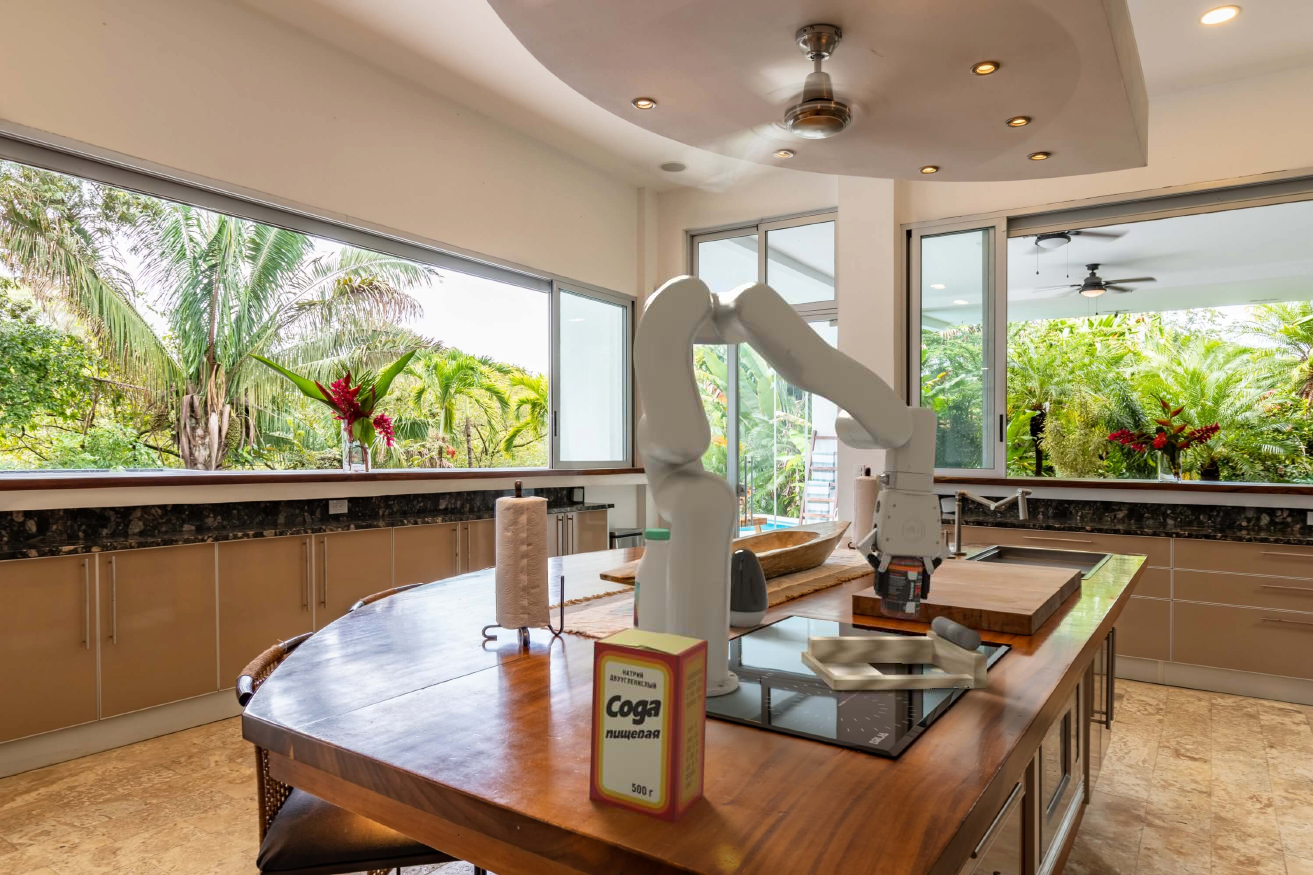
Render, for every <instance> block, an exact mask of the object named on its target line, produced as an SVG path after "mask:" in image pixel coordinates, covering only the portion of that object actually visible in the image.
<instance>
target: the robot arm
mask: <svg viewBox="0 0 1313 875" xmlns="http://www.w3.org/2000/svg"><path fill="white" fill-rule="evenodd" d="M641 313H642V315H641V317H640V319H639V322H638V326H637V328H636V332H635V336H634V342H633V349H632V350H633V352H632V353H633V354H632V355H633V359H632V360H633V366H634V367H633V368H634V373H635V377H636V381H637V386H638V388H639V389H638V390H639V394H640V399H641V402H642V405H643V410H644V413H643V414H642V415H641V417H640V419H639V422H638V424H637V427H636V428H637V429H636V440H637V447H638V451H639V454H640V459H641V462H642V465H643V468H644V473H645V476H646V479H647V483H648V487H649V489H650V493H651V496H652V498H653V502H654V505H655V508H656V510H657V511H658V513H659V515H660V516H661V518H662V519H663V520H664V521H666V522H667V523H668V524H670V525H671V528H670V540H669V546H668V555H667V587H666V621H665V633H667V634H672V635H678V636H683V637H689V638H694V639H700V640H705V641H708V654H707V689H706V697H716V696H721V695H727V694H729V693H732V692H734V691H735V690H737V689H738V687H739V677H738V675H737V674H736V673H735V672H733V671H732V670H729V651H730V626H731V625H730V590H731V556H732V554H733V543H734V536H735V531H736V526H737V519H738V501H737V500H738V499H737V495H736V493H735V491H734V489H733V487H732V486H731V484H730V483H729V482H728V481H727V480H726V479H725V478H724V477H722V476H721V475H720V474H719V473H716V472H713V471H711V470H705V468H704V463H703V460H702V457H703V456H704V455H705V454H706V453H707V452H708V450H709V448H710V445H711V442H712V433H711V432H712V431H711V426H710V423H709V419H708V415H707V413H706V409H705V407H704V403H703V399H702V396H701V392H700V389H699V386H698V382H697V378H696V374H695V369H694V364H693V348H694V345H702V346H703V345H704V346H705V345H707V346H716V345H718V346H721V345H727V346H728V345H740V344H744V343H746V344H748V346H749V347H750V348H752V350H754V351H755V352H756V353H757V354H758V356H760V357H761V359H763V360H764V361H765V362H766V363H767V364H768V365H769V366H770V368H772V369H773V370H774V371H775V373H776V374H778V375H779V376H780V378H782V379H783V381H785V382H786V383H787V384H789V385H791V386H793V387H794V388H796V389H799V390H801V391H805V392H806V393H810V394H813V395H816V396H819V397H821V398H823V399H825V400H828V401H829V402H831V403H832V404H835V405H836V406H838V407H839V408H840V409H841V411H839V412H838V414H837V416H836V418H835V421H834V422H835V423H834V430H835V434H836V435H837V438H838V439H839V440H840V442H842V443H843V444H844V445H845V446H848V447H849V448H852V449H856V450H883V451H885V457H884V458H885V459H884V470H883V471H882V474H877V475H876V476H875V482H876V483H877V484H881V487H882V490H879V492H878V495H877V498H876V502H875V506H874V509H873V510H874V511H873V516H872V523H871V531H870V532H869V533H868V534H867V535H866V536H865V537H863V539H861V541H859V542H858V543H857V545H856V549H857V550H858V552H859V553H860V554H861V555H862V556H863V557H864V559H865V560H866V561H867V563H868V564H869V565H870V566H871V568H872V569H873V570H874V574H873V590H874V591H875V592H874V593H875V596H878V597H880V598H881V597H882V598H886V597H887V596H888V582H889V573H888V572H886V568H887V566H888V564H889V561H890V559H891V557H892V555H893V556H908V557H918V559H919V560H920V561H921V562H922V565H923V566H922V584H921V600H922V601H923V600H925V601H927V600H928V596H929V593H930V591H931V590H930V588H931V577H932V576H931V575H934V573H935V571H936V570H937V568H939V567H940V566H941V565H942V564H943V562H944V561H945V560H946V559H947V558H949V557H950V555H951V554H952V550H951V549H950V548H949V547H948V546H947V544H946V543H945V541H944V540H942V518H941V517H942V516H941V508H940V507H941V506H940V500H939V495H938V494H934V493H933V491H934V481H935V480H934V477H935V476H934V473H935V463H936V462H935V461H936V448H937V447H936V444H937V430H938V415H937V413H936V411H935V410H934V409H932V408H929V407H925V406H916V405H915V406H912V405H911V406H908V404H906V403H905V401H904V400H903V399H902V398H901V397H900V396H899V394H897V393H896V391H894V389H893V388H892V387H891V386H890V385H889V384H888V383H887V382H886V381H885V380H883V379H882V378H881V377H880V376H879V375H878V374H876V373H875V371H873V370H871V369H869V368H868V367H867V366H866V365H864V364H862V363H861V362H859V361H857V360H856V359H855V358H852V357H850V356H849V355H848V354H846V353H845V352H843V351H841V350H840V349H837V348H836V347H833V346H832V345H830V344H829V343H828V342H827V341H826V340H825V339H824V338H823V337H821V336H820V335H819V334H818V333H817V332H816V330H815V329H814V328H813V327H811V326H810V325H809V323H808V322H807V321H805V319H804V318H803V317H802V316H801V315H800V314H799V313H798V312H797V311H796V310H795V309H794V308H793V307H792V306H791V304H789V303H788V302H787V300H785V299H784V297H782V296H781V295H780V294H779V293H778V291H776V290H775V289H774V288H772V287H771V286H770V285H769V284H766V283H765V282H761V281H751V282H747V283H744V284H742V285H739V286H737V287H735V288H734V289H732V290H730V291H727V292H725V291H724V292H711V290H710V288H709V287H708V285H707V284H706V282H705V281H704V280H702V279H701V278H699V277H696V276H694V275H687V274H686V275H679V276H677V277H673V278H671V279H669V280H668V281H667V282H666V283H664V284H663V285H661V287H660V288H658V289H657V290H656V291H655V292H654V293H653V292H652V294H651V295H650V296H649V297H648V299H647V300H646V302H645V303H644V305H643V308H642V312H641ZM871 549H872V550H874V551H875V552H877V553H876V554H874V553H873V552H872V550H871Z"/></svg>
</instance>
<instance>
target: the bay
mask: <svg viewBox="0 0 1313 875" xmlns="http://www.w3.org/2000/svg"><path fill="white" fill-rule="evenodd" d="M931 629H932V630H926V636H923V635H922V636H807V647H806V648H807V651H801V659H800V660H801V662H802V663H803V664H804V665H807V666H806V667H808V668H809V670H811V671H812V672H813V673H814V674H816V676H818V677H819V678H820V679H821V680H822V681H824V683H825V684H827V685H828V687H830V689H832V690H834V691H859V690H860V691H862V690H863V691H865V690H866V691H868V690H870V691H871V690H878V691H879V690H933V689H932V688H954V687H965V686H967V687H969V688H968V689H987V681H988V680H987V677H988V676H987V675H988V673H987V670H988V654H986V653H984V652H982V651H980V650H978V649H979V648H980V646H981V644H982V637H981V634H980V633H978V632H977V631H975V630H973V629H971V628H970V627H969V628H968V627H966V626H964V625H962V624H960V623H957V622H955V621H954V620H951V619H949V618H946V617H945V616H936V617H935V618H934V619H932V621H931ZM869 663H902V664H908V665H909V664H932V665H934V666H936V667H937V668H939V669H941V670H942V671H944V672H945V673H947V674H883V673H881V672H880V671H879V670H877V669H876V668H874V667H873V666H871V664H869ZM930 688H931V689H930Z"/></svg>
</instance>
